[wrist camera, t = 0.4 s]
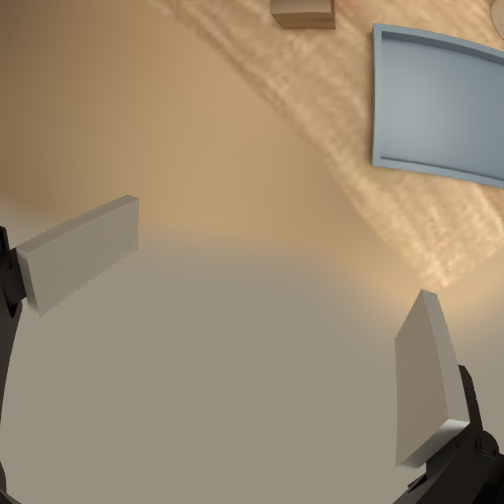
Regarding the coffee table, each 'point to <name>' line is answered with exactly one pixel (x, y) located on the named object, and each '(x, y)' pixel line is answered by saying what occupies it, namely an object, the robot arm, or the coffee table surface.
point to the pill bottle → (498, 16)
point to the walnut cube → (304, 14)
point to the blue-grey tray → (437, 105)
